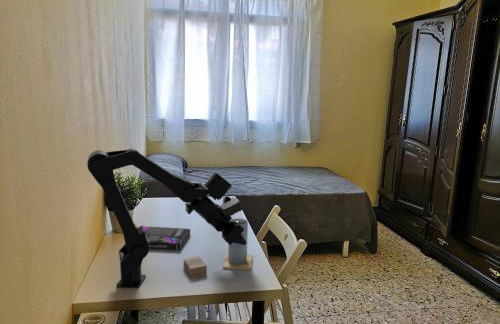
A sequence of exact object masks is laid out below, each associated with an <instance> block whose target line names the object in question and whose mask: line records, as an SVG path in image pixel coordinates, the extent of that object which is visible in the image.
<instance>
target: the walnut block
mask: <svg viewBox="0 0 500 324" xmlns="http://www.w3.org/2000/svg"><path fill="white" fill-rule="evenodd" d="M183 268H184V270H185V271H186V273H187V274H188V276H189V277H190V278H194V277H198V276H203V275H207V274H208V273H207V271H208V270H207V269H208V268H207V264H206V263H205V262H204V261H203V260H202V258H201V257H200V256H193V257H189V258H183Z"/></svg>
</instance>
